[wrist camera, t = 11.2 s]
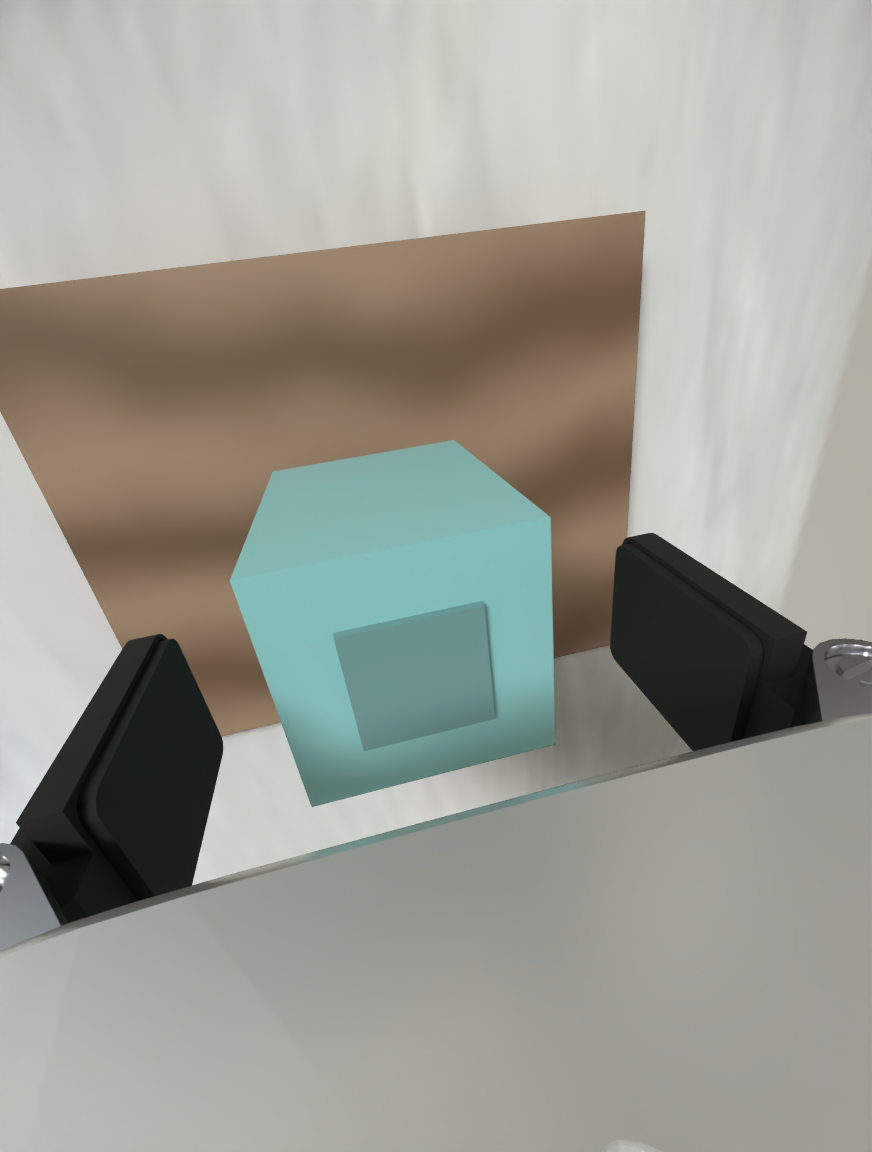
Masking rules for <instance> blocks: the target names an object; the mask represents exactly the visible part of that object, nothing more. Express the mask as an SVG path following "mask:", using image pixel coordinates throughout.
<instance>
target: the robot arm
mask: <svg viewBox="0 0 872 1152" xmlns="http://www.w3.org/2000/svg"><path fill="white" fill-rule="evenodd" d="M806 634H807V631H805V630H803V629H802V628H800V627H799V626H797V625H796V624H794V623H792V622H791V621H790V620H788V619H786V618H785V617H783V616H782V615H780V614H779V613H777V612H776V611H774V610H773V609H771V608H769V607H768V606H766V605H765V604H763V603H762V602H760V601H759V600H757V599H755V598H754V597H752V596H751V595H749V594H748V593H746V592H745V591H743V590H742V589H740V588H738V587H737V586H735V585H734V584H732V583H731V582H729V581H728V580H726V579H724V578H723V577H721V576H720V575H718V574H717V573H715V572H714V571H712V570H710V569H709V568H707V567H706V566H704V565H703V564H701V563H700V562H698V561H697V560H695V559H693V558H692V557H690V556H689V555H687V554H686V553H684V552H683V551H681V550H679V549H678V548H676V547H675V546H673V545H672V544H670V543H669V542H667V541H666V540H664V539H662V538H661V537H659V536H658V535H656V534H654V533H648V534H643V535H638V536H633V537H628V538H626V539H625V540H624V541H623V543H622V545H621V546H619V547H618V548H617V550H616V556H615V572H614V588H613V605H612V621H611V637H610V648H611V653H612V655H613V657H614V659H615V661H616V662H617V663H618V664H619V665H620V667H621V668H622V669H623V670H624V671H625V672H626V674H627V675H628V676H629V677H630V678H631V679H632V681H633V682H634V683H635V684H636V685H637V686H638V688H639V689H640V690H641V691H642V692H643V693H644V695H645V696H646V697H647V698H648V699H649V700H650V702H651V703H652V704H653V705H654V706H655V707H656V709H657V710H658V711H659V712H660V713H661V714H662V716H663V717H664V718H665V719H666V720H667V721H668V723H669V724H670V725H671V726H672V727H673V728H674V730H675V731H676V732H677V733H678V734H679V735H680V737H681V738H682V739H683V740H684V741H685V743H686V744H687V745H688V746H689V747H690V748H691V750H692V751H693V752H689V753H686V754H682V755H678V756H674V757H670V758H666V759H662V760H659V761H655V762H651V763H647V764H643V765H639V766H635V767H632V768H628V769H624V770H620V771H616V772H612V773H608V774H604V775H601V776H597V777H593V778H589V779H585V780H581V781H577V782H574V783H570V784H566V785H562V786H558V787H555V788H551V789H547V790H543V791H540V792H536V793H532V794H528V795H524V796H521V797H517V798H513V799H509V800H505V801H502V802H498V803H494V804H490V805H487V806H483V807H479V808H475V809H472V810H468V811H464V812H460V813H456V814H453V815H449V816H445V817H441V818H438V819H434V820H430V821H426V822H423V823H419V824H415V825H411V826H408V827H404V828H400V829H396V830H393V831H389V832H385V833H382V834H378V835H374V836H371V837H367V838H363V839H359V840H356V841H352V842H348V843H345V844H341V845H337V846H334V847H330V848H326V849H323V850H319V851H315V852H311V853H308V854H304V855H300V856H297V857H293V858H289V859H286V860H282V861H278V862H275V863H271V864H267V865H264V866H260V867H256V868H252V869H249V870H245V871H241V872H238V873H234V874H231V875H227V876H224V877H220V878H217V879H213V880H210V881H206V882H203V883H199V884H196V885H193V886H192V882H193V878H194V874H195V870H196V865H197V861H198V857H199V853H200V848H201V844H202V840H203V835H204V831H205V827H206V823H207V818H208V814H209V810H210V806H211V801H212V797H213V793H214V789H215V784H216V780H217V776H218V772H219V767H220V763H221V759H222V755H223V741H222V737H221V734H220V732H219V730H218V728H217V725H216V723H215V721H214V719H213V717H212V715H211V712H210V710H209V708H208V706H207V704H206V702H205V700H204V697H203V695H202V693H201V691H200V689H199V687H198V684H197V682H196V680H195V678H194V676H193V674H192V672H191V669H190V667H189V665H188V663H187V661H186V659H185V656H184V654H183V652H182V650H181V648H180V646H179V644H178V642H177V641H176V640H175V639H167V638H166V637H165V636H164V635H163V634H157V635H152V636H147V637H142V638H137V639H132V640H129V641H128V642H127V643H126V644H125V646H124V648H123V649H122V651H121V652H120V654H119V656H118V657H117V659H116V661H115V662H114V664H113V665H112V667H111V669H110V670H109V672H108V674H107V675H106V677H105V678H104V680H103V682H102V683H101V685H100V687H99V688H98V690H97V692H96V693H95V695H94V696H93V698H92V700H91V701H90V703H89V705H88V706H87V708H86V709H85V711H84V713H83V714H82V716H81V718H80V719H79V721H78V722H77V724H76V726H75V727H74V729H73V731H72V732H71V734H70V735H69V737H68V739H67V740H66V742H65V744H64V745H63V747H62V748H61V750H60V752H59V753H58V755H57V757H56V758H55V760H54V762H53V763H52V765H51V766H50V768H49V770H48V771H47V773H46V775H45V776H44V778H43V779H42V781H41V783H40V784H39V786H38V788H37V789H36V791H35V792H34V794H33V796H32V797H31V799H30V801H29V802H28V804H27V805H26V807H25V809H24V810H23V812H22V814H21V815H20V817H19V818H18V820H17V822H16V823H17V825H18V826H19V827H20V828H19V830H18V832H17V833H16V835H15V837H14V838H13V840H12V842H11V843H10V844H4V843H2V844H0V1152H872V642H868V641H863V640H855V639H832V640H828V641H825V642H822V643H820V644H818V645H817V646H816V647H815V648H814V649H813V650H812V649H810V648H809V647H807V646H806V645H804V641H805V637H806Z"/></svg>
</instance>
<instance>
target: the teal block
mask: <svg viewBox="0 0 872 1152" xmlns="http://www.w3.org/2000/svg"><path fill="white" fill-rule="evenodd" d="M230 583H231V586H232V589H233V591H234V594H235V597H236V600H237V602H238V605H239V608H240V611H241V613H242V616H243V619H244V622H245V624H246V627H247V630H248V633H249V635H250V638H251V641H252V644H253V646H254V649H255V652H256V655H257V657H258V660H259V663H260V666H261V668H262V671H263V674H264V677H265V679H266V682H267V685H268V688H269V690H270V693H271V696H272V699H273V701H274V704H275V707H276V710H277V712H278V715H279V718H280V721H281V723H282V726H283V729H284V732H285V734H286V737H287V740H288V743H289V745H290V748H291V751H292V754H293V757H294V759H295V762H296V765H297V768H298V770H299V773H300V776H301V779H302V781H303V784H304V787H305V790H306V792H307V795H308V798H309V801H310V803H311V806H312V807H314V806H318V805H322V804H325V803H329V802H333V801H337V800H341V799H345V798H349V797H353V796H357V795H360V794H364V793H368V792H372V791H376V790H380V789H384V788H388V787H391V786H395V785H399V784H403V783H407V782H411V781H415V780H419V779H423V778H426V777H430V776H434V775H438V774H442V773H446V772H450V771H454V770H457V769H461V768H465V767H469V766H473V765H477V764H481V763H485V762H489V761H492V760H496V759H500V758H504V757H508V756H512V755H516V754H520V753H523V752H527V751H531V750H535V749H539V748H543V747H547V746H551V745H555V707H554V659H553V610H552V562H551V517H550V516H548V515H547V514H546V513H545V512H543V511H542V510H541V509H540V508H538V507H537V506H536V505H535V504H533V503H532V502H531V501H530V500H528V499H527V498H526V497H525V496H523V495H522V494H521V493H520V492H518V491H517V490H516V489H515V488H513V487H512V486H511V485H510V484H508V483H507V482H506V481H505V480H503V479H502V478H501V477H500V476H498V475H497V474H496V473H495V472H493V471H492V470H491V469H490V468H488V467H487V466H486V465H485V464H483V463H482V462H481V461H480V460H478V459H477V458H476V457H475V456H473V455H472V454H471V453H470V452H468V451H467V450H466V449H465V448H463V447H462V446H461V445H460V444H458V443H457V442H456V441H455V440H451V441H445V442H440V443H434V444H428V445H422V446H417V447H411V448H405V449H399V450H394V451H388V452H382V453H376V454H371V455H365V456H359V457H353V458H348V459H342V460H336V461H330V462H325V463H319V464H313V465H307V466H302V467H296V468H290V469H284V470H279V471H273V472H272V475H271V477H270V480H269V482H268V485H267V488H266V490H265V493H264V495H263V498H262V500H261V503H260V505H259V508H258V510H257V513H256V515H255V518H254V520H253V523H252V526H251V528H250V531H249V533H248V536H247V538H246V541H245V543H244V546H243V548H242V551H241V553H240V556H239V559H238V561H237V564H236V566H235V569H234V571H233V574H232V576H231V579H230Z"/></svg>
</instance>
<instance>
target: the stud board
mask: <svg viewBox="0 0 872 1152" xmlns="http://www.w3.org/2000/svg"><path fill="white" fill-rule="evenodd" d="M644 227H645V211H640V212H631V213H623V214H615V215H607V216H599V217H590V218H582V219H574V220H566V221H557V222H549V223H541V224H533V225H525V226H516V227H508V228H500V229H492V230H483V231H475V232H467V233H459V234H450V235H442V236H434V237H426V238H418V239H409V240H401V241H393V242H385V243H376V244H368V245H360V246H352V247H344V248H335V249H327V250H319V251H311V252H302V253H294V254H286V255H278V256H269V257H261V258H253V259H245V260H237V261H228V262H220V263H212V264H204V265H195V266H187V267H179V268H171V269H163V270H154V271H146V272H138V273H130V274H121V275H113V276H105V277H97V278H88V279H80V280H72V281H64V282H56V283H47V284H39V285H31V286H23V287H14V288H6V289H0V412H1V414H2V416H3V418H4V419H5V421H6V423H7V425H8V427H9V429H10V431H11V433H12V435H13V437H14V439H15V441H16V443H17V445H18V447H19V449H20V451H21V453H22V454H23V456H24V458H25V460H26V462H27V464H28V466H29V468H30V470H31V472H32V474H33V476H34V478H35V480H36V482H37V484H38V486H39V488H40V489H41V491H42V493H43V495H44V497H45V499H46V501H47V503H48V505H49V507H50V509H51V511H52V513H53V515H54V517H55V519H56V521H57V523H58V524H59V526H60V528H61V530H62V532H63V534H64V536H65V538H66V540H67V542H68V544H69V546H70V548H71V550H72V552H73V554H74V556H75V558H76V559H77V561H78V563H79V565H80V567H81V569H82V571H83V573H84V575H85V577H86V579H87V581H88V583H89V585H90V587H91V589H92V591H93V593H94V594H95V596H96V598H97V600H98V602H99V604H100V606H101V608H102V610H103V612H104V614H105V616H106V618H107V620H108V622H109V624H110V626H111V628H112V629H113V631H114V633H115V635H116V637H117V639H118V641H119V643H120V645H121V647H122V649H123V648H124V646H125V644H126V643H127V642H128V641H129V640H132V639H137V638H142V637H147V636H152V635H157V634H163V635H164V636H165V637H166V638H167V639H175V640H176V641H177V642H178V644H179V646H180V648H181V650H182V652H183V654H184V656H185V659H186V661H187V663H188V665H189V667H190V669H191V672H192V674H193V676H194V678H195V680H196V682H197V684H198V687H199V689H200V691H201V693H202V695H203V697H204V700H205V702H206V704H207V706H208V708H209V710H210V712H211V715H212V717H213V719H214V721H215V723H216V725H217V728H218V730H219V732H220V734H221V736H224V735H229V734H233V733H237V732H241V731H246V730H250V729H254V728H258V727H263V726H267V725H271V724H275V723H280V722H281V721H280V718H279V715H278V712H277V710H276V707H275V704H274V701H273V699H272V696H271V693H270V690H269V688H268V685H267V682H266V679H265V677H264V674H263V671H262V668H261V666H260V663H259V660H258V657H257V655H256V652H255V649H254V646H253V644H252V641H251V638H250V635H249V633H248V630H247V627H246V624H245V622H244V619H243V616H242V613H241V611H240V608H239V605H238V602H237V600H236V597H235V594H234V591H233V589H232V586H231V583H230V579H231V576H232V574H233V571H234V569H235V566H236V564H237V561H238V559H239V556H240V553H241V551H242V548H243V546H244V543H245V541H246V538H247V536H248V533H249V531H250V528H251V526H252V523H253V520H254V518H255V515H256V513H257V510H258V508H259V505H260V503H261V500H262V498H263V495H264V493H265V490H266V488H267V485H268V482H269V480H270V477H271V475H272V472H273V471H279V470H284V469H290V468H296V467H302V466H307V465H313V464H319V463H325V462H330V461H336V460H342V459H348V458H353V457H359V456H365V455H371V454H376V453H382V452H388V451H394V450H399V449H405V448H411V447H417V446H422V445H428V444H434V443H440V442H445V441H451V440H455V441H456V442H457V443H458V444H460V445H461V446H462V447H463V448H465V449H466V450H467V451H468V452H470V453H471V454H472V455H473V456H475V457H476V458H477V459H478V460H480V461H481V462H482V463H483V464H485V465H486V466H487V467H488V468H490V469H491V470H492V471H493V472H495V473H496V474H497V475H498V476H500V477H501V478H502V479H503V480H505V481H506V482H507V483H508V484H510V485H511V486H512V487H513V488H515V489H516V490H517V491H518V492H520V493H521V494H522V495H523V496H525V497H526V498H527V499H528V500H530V501H531V502H532V503H533V504H535V505H536V506H537V507H538V508H540V509H541V510H542V511H543V512H545V513H546V514H547V515H548V516H550V517H551V562H552V610H553V658H556V657H560V656H565V655H569V654H573V653H577V652H582V651H586V650H590V649H594V648H599V647H603V646H607V645H610V637H611V621H612V605H613V588H614V572H615V556H616V550H617V548H618V547H619V546H621V545H622V543H623V541H624V540H625V539H626V538H627V527H628V510H629V492H630V474H631V457H632V439H633V421H634V404H635V386H636V368H637V351H638V333H639V315H640V298H641V280H642V262H643V245H644Z"/></svg>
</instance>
